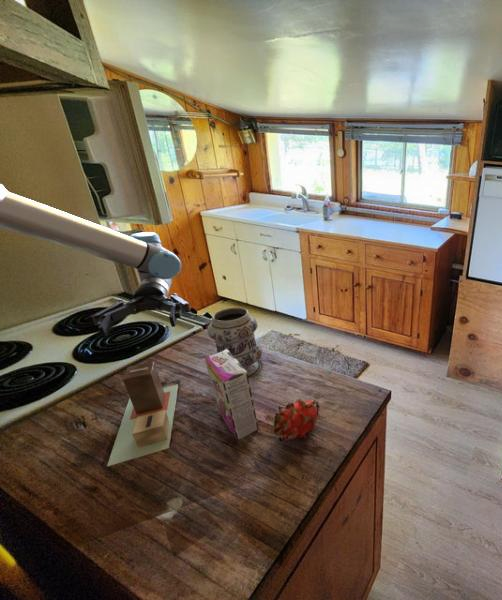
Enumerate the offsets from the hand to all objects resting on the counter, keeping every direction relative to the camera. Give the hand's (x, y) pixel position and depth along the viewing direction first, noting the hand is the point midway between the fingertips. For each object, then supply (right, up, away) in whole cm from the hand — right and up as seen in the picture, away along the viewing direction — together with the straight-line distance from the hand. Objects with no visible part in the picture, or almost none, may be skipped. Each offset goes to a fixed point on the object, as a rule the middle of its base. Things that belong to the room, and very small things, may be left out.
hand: (138, 327), depth 78 cm
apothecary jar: (+19, -14, +13) cm, 26 cm away
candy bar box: (+26, -22, -4) cm, 34 cm away
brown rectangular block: (+4, -18, -1) cm, 19 cm away
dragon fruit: (+40, -23, -5) cm, 47 cm away
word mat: (+6, -21, -5) cm, 22 cm away
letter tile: (+11, -22, -9) cm, 26 cm away
